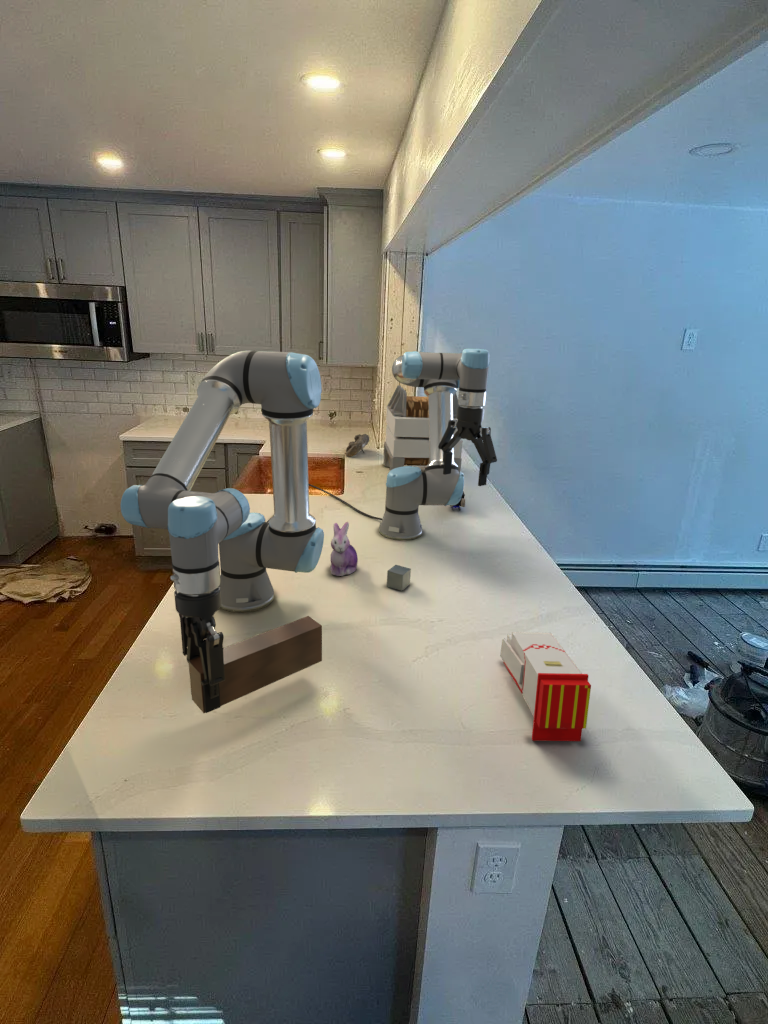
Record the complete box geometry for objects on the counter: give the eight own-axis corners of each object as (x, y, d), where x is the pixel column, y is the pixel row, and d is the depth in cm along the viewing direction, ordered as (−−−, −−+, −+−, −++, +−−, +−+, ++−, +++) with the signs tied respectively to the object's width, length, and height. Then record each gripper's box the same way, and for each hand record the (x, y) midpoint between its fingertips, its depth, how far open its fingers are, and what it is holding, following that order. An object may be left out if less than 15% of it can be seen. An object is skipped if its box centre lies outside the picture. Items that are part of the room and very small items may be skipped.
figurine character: (465, 515, 224) (460, 499, 237) (467, 498, 221) (462, 483, 234) (448, 515, 224) (444, 499, 237) (450, 498, 220) (445, 482, 234)
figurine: (335, 579, 164) (336, 531, 159) (322, 565, 172) (322, 519, 167) (364, 574, 168) (366, 527, 163) (350, 560, 177) (351, 515, 172)
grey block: (386, 586, 162) (387, 570, 160) (394, 579, 166) (395, 564, 164) (402, 591, 160) (403, 575, 158) (410, 584, 164) (411, 568, 162)
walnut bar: (203, 713, 102) (200, 673, 99) (191, 699, 105) (188, 660, 102) (322, 661, 118) (322, 625, 115) (308, 650, 122) (308, 615, 119)
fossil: (345, 440, 316) (366, 424, 311) (356, 453, 319) (377, 438, 314) (339, 453, 297) (361, 437, 292) (350, 467, 300) (373, 452, 295)
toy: (548, 616, 130) (600, 681, 101) (542, 669, 133) (592, 748, 104) (495, 615, 130) (533, 680, 101) (491, 669, 133) (526, 747, 103)
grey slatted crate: (382, 463, 289) (386, 382, 275) (445, 464, 293) (451, 384, 279) (390, 482, 257) (394, 392, 243) (460, 483, 261) (468, 394, 247)
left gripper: (155, 574, 101) (166, 684, 108) (198, 615, 88) (207, 737, 96) (196, 563, 105) (204, 670, 113) (242, 601, 92) (247, 718, 100)
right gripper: (429, 400, 165) (424, 471, 172) (497, 414, 147) (489, 492, 154) (447, 399, 169) (442, 467, 176) (515, 412, 152) (506, 488, 159)
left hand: (205, 700), depth 104 cm, fingers closed on walnut bar, 5 cm apart
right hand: (464, 479), depth 165 cm, fingers open, 13 cm apart
